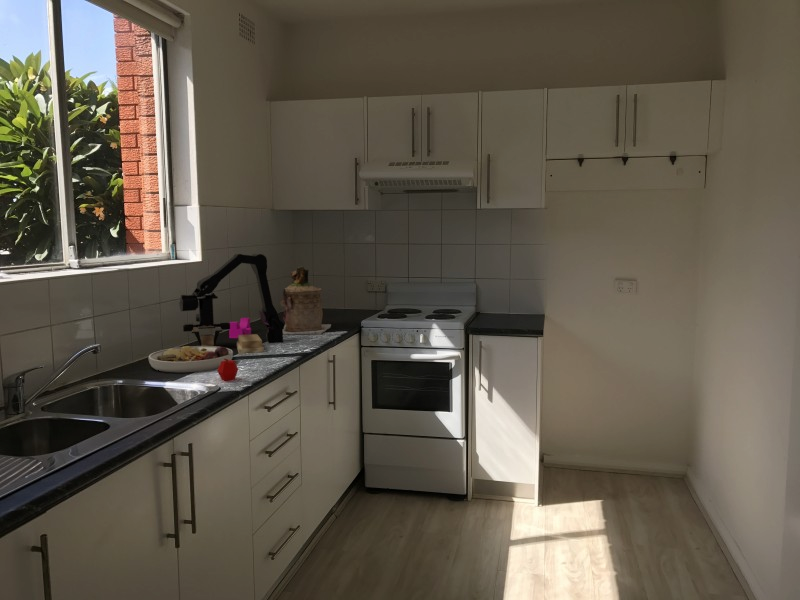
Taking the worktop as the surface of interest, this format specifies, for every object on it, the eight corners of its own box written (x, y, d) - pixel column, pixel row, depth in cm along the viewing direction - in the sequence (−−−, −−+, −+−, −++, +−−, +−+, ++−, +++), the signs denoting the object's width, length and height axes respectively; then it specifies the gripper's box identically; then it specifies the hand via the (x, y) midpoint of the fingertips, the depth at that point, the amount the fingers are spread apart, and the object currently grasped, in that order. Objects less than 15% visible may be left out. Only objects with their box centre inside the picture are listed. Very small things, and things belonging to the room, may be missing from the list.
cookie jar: (332, 327, 339) (331, 264, 335) (321, 336, 314) (320, 267, 310) (284, 327, 341) (282, 263, 337) (270, 335, 317) (268, 267, 313)
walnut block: (213, 348, 286) (213, 334, 285) (214, 350, 281) (213, 336, 280) (201, 348, 284) (201, 334, 283) (201, 351, 279) (201, 336, 279)
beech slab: (260, 347, 291) (260, 340, 290) (264, 355, 274) (264, 348, 273) (236, 348, 288) (236, 341, 287) (239, 356, 271) (238, 349, 270)
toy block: (242, 339, 308) (241, 322, 307) (229, 338, 309) (228, 322, 308) (255, 333, 323) (254, 318, 322) (242, 333, 324) (242, 317, 323)
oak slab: (257, 340, 289) (256, 334, 289) (262, 347, 274) (261, 340, 274) (238, 342, 286) (237, 335, 286) (242, 348, 271) (241, 341, 271)
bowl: (133, 374, 239) (132, 352, 238) (172, 357, 268) (171, 338, 267) (213, 377, 235) (213, 354, 234) (245, 359, 264) (244, 339, 263)
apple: (213, 383, 223) (212, 360, 222) (222, 379, 230) (221, 356, 229) (233, 384, 222) (232, 360, 221) (241, 379, 229) (241, 356, 228)
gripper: (228, 306, 291) (229, 342, 293) (183, 308, 286) (184, 344, 287) (229, 309, 280) (230, 346, 282) (182, 311, 275) (184, 349, 277)
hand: (207, 346), depth 282 cm, fingers closed on walnut block, 5 cm apart
